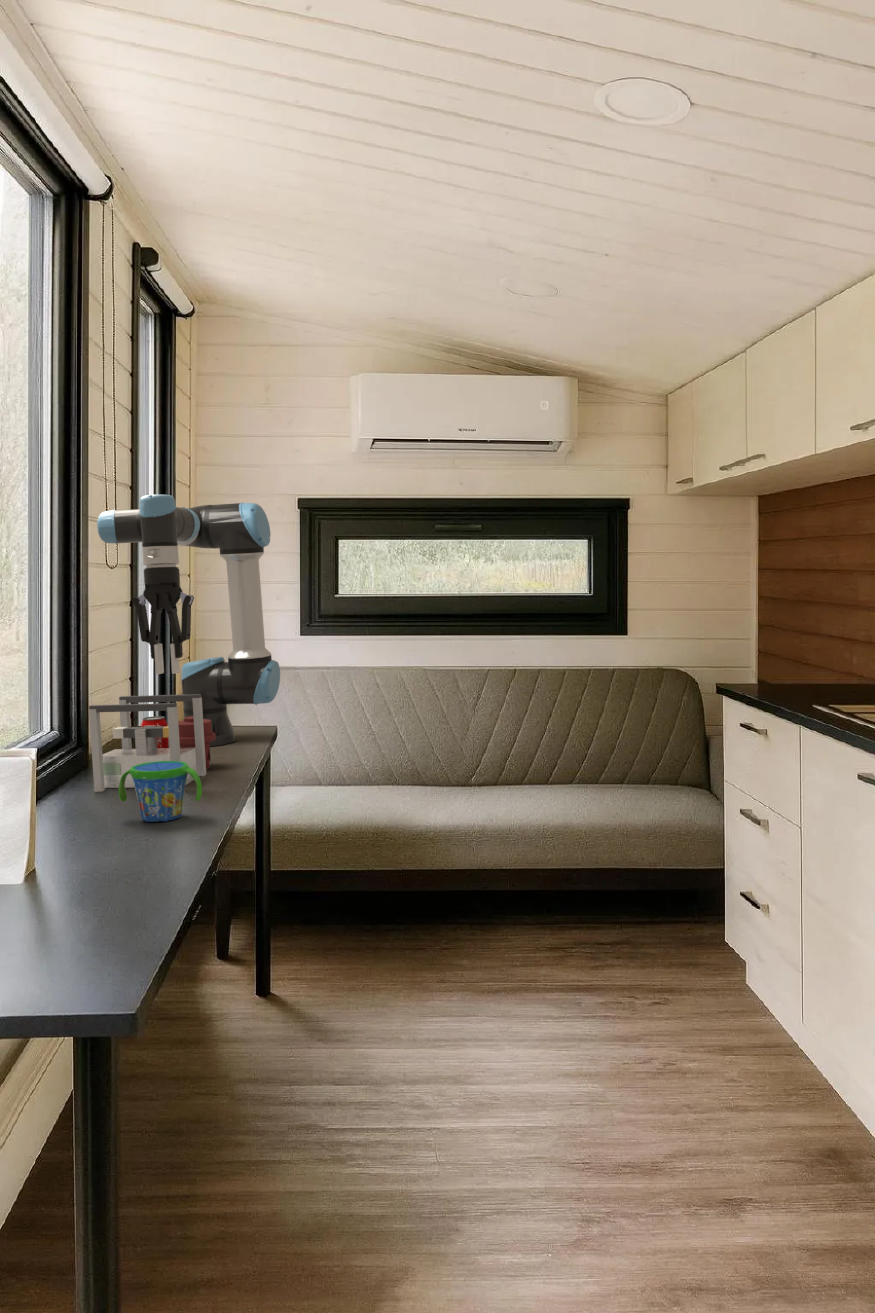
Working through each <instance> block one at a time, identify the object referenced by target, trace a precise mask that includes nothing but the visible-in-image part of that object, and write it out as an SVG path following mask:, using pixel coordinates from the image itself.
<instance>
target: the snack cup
mask: <svg viewBox="0 0 875 1313" xmlns="http://www.w3.org/2000/svg"><path fill="white" fill-rule="evenodd" d="M188 773H189V774H190V775H191V777H192V778H193V779H194V780H193V781H194V782H195V783H196V797H195V802H198V801H199V800H201V797H202V794H203V785H202V781H201V778H200V776H198V774H197V773H196V771H195V770H193V769H192V768H190V767H189V766H188V764H187V763H185V762H181V761H155V762H147V763H142V764H138V765H135V766H132V767H131V768H130V770H128V771H126V772H125V773H124V774H123V775H122V777H121V779H120V783H119V788H118V797H119V800H120V801H121V802H126V801H127V799H128V796H127V790H126V788H125V786H124V785H125V780H126V776H127V775H128V774H131V777H132V778H133V781H134V786H135V788H134V790H135V796H136V801H137V805H138V809H139V810H138V812H139V813H140V817H141V819H142V820H143V821H145V822H147V823H148V822H151V823H153V822H154V823H158V822H168V821H174V820H177V819H178V818H181V817H182V815H183V810H184V802H185V800H184V799H185V790H186V789H185V788H186V785H185V782H186V778H187V774H188Z"/></svg>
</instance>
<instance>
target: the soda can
mask: <svg viewBox="0 0 875 1313" xmlns="http://www.w3.org/2000/svg"><path fill="white" fill-rule="evenodd" d="M153 725H156V727H157V726H168V721H166V719H165V716H162V715H155V716H146V717H143V718H142V722H141V723H140V727H144V726H153ZM157 748H170V744H169V737H164V738H163V737H157Z"/></svg>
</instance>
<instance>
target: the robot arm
mask: <svg viewBox="0 0 875 1313" xmlns="http://www.w3.org/2000/svg"><path fill="white" fill-rule="evenodd" d="M174 497H175V496H173V495H172V494H171V495H170V494H147V495H142V496H141V497H140V499H139V509H135V508H134V509H117V510H116V509H112V510H106V511H102V512H100V514H99V515H98V518H97V520H96V526H97V533H98V536H99V538H100V540H101V541H102V542H104V543H106V544H115V545H118V544H129V543H130V544H131V543H133V544H135V543H142V544H141V546H142V547H141V548H142V549H141V550H142V564H143V566H146V567H145V568H144V569H143V580H144V582H143V583H144V590H143V592H142V593H143V594H140V595H139V596H137V597H133V598H132V603H133V604H134V606H135V610H136V614H137V615H136V616H137V621H138V628H139V634H140V640H141V641H142V642H145V643H148V644H149V647H150V657H151V659H152V660H154V663H155V666H154V667H155V675H161V674H165V667H164V649H163V643H161V641H160V630H161V617H162V615H161V614H162V613H163V610H164V609H165V612H166V614H167V618H168V622H169V626H170V631H171V632H170V633H171V637H172V641H171V642H172V643H170V644H169V647H170V661H171V662H170V663H171V664H170V666H171V674H173V675H174V674H179V673H180V672H181V676H180V682H181V691H182V692H181V695H190V694H201V697H202V711H203V719H208V720H211V728H212V732H214V733H215V735H216V739H215V740H214V741H212V742H210V747H214V746H223V745H227V744H228V745H229V744H231V743H234V742H235V741H236V735H235V730H234V728H233V725H232V722H231V720H230V717H229V715H228V709H227V708H228V707H227V705H256V706H257V705H258V704H259V705H260V704H269V703H271V702H273V701H274V699H275V698H276V696H277V694H278V691H279V687H280V682H281V668H280V664H279V662H278V661H277V660H274V659H272V658H273V657H272V653H271V651H270V650H269V649H267V648H266V643H265V642H266V641H265V640H266V638H265V626H264V613H263V602H262V601H263V600H262V599H263V598H262V586H261V573H260V572H261V571H260V559H261V557H262V556H263V555H264V554H265V549H264V548H265V547H268V546H269V544H270V543H271V528H270V527H271V526H270V523H269V519H268V515H267V514H266V512H265V509H263V507H262V506H261V505H260V504H258V503H254V502H241V503H239V502H238V503H237V502H236V503H235V502H234V503H223V504H222V503H221V504H206V505H205V504H204V505H197V506H192V507H185V506H184V507H183V506H182V507H180V506H179V507H178V506H177V505H176V501H175V498H174ZM178 546H181V547H182V546H183V547H191V548H199V549H219V556H220V557H221V558H222V559H223V560H225V562H226V573H227V574H226V575H227V576H226V577H227V588H228V600H229V612H230V613H229V614H230V629H231V639H232V651H231V652H230V653H229V654H228V656H227V661H226V660H225V658H224V657H223V656H218V657H211V658H204V659H199V660H194V661H193V660H192V661H190V662H189V661H188V662H186V663H184V664H183V665H182V666H180V659H181V658H183V656H184V655H183V654H184V653H183V651H184V650H183V643H184V642H185V641H188V640H190V639H191V631H192V630H191V628H192V627H191V625H192V624H191V623H192V605H193V602H194V601H195V600H194V599H195V597H194V595H192V594H190V595H189V594H187V593H184V592H183V589H182V587H181V579H180V576H181V575H180V568H179V567H177V565H179V564H180V560H179V557H180V556H179V548H178ZM146 600H147V601H146ZM180 600H181V601H180ZM179 601H180V602H181V626H180V620H179V617H178V607H177V606H178V605H177V604H178V602H179ZM147 602H148V603H149V605H150V614H151V615H150V624H149V619H148V612H147V607H146V604H147ZM180 667H181V670H180ZM182 708H183V709H182V710H183V718H182V721H183V720H184V718H185V717H190V716H193V701H183V702H182Z"/></svg>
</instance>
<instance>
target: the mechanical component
mask: <svg viewBox="0 0 875 1313" xmlns="http://www.w3.org/2000/svg"><path fill="white" fill-rule="evenodd" d="M183 718H184V717H183ZM178 726H179V742H180V748H195V732H194V716H190V717H185V718H184V720H183V719H182V720H178ZM203 727H204V744H205V761H206V770H207V769H210V762H211V746H210V742H212V741H214V740H215V739H216V735H215V733H214V732H212V728H211V720H208V719H203ZM195 751H196V748H195ZM196 767H197V765H196Z"/></svg>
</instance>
